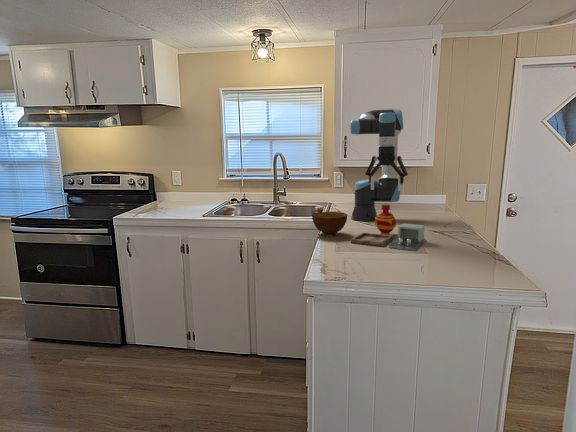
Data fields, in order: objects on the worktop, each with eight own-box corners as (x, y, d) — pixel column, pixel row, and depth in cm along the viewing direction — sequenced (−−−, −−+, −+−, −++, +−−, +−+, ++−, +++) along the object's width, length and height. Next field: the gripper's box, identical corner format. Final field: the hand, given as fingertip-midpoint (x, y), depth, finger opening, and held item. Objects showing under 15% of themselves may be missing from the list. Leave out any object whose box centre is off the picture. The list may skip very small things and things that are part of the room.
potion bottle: (396, 233, 204) (397, 203, 201) (394, 237, 194) (395, 206, 192) (375, 231, 207) (375, 203, 205) (372, 236, 198) (373, 206, 195)
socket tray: (350, 242, 187) (350, 239, 186) (363, 236, 199) (363, 232, 199) (382, 246, 179) (382, 242, 178) (393, 239, 191) (393, 235, 191)
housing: (398, 239, 186) (398, 226, 185) (402, 236, 192) (402, 223, 190) (419, 241, 181) (420, 228, 179) (423, 238, 186) (424, 225, 185)
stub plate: (388, 247, 177) (388, 239, 176) (402, 238, 193) (402, 230, 193) (414, 250, 171) (414, 242, 170) (425, 240, 188) (426, 233, 187)
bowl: (305, 235, 204) (304, 215, 202) (326, 229, 217) (326, 210, 215) (333, 240, 192) (333, 219, 191) (354, 233, 205) (354, 214, 203)
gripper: (359, 146, 196) (358, 189, 200) (410, 145, 183) (409, 192, 187) (364, 146, 202) (364, 188, 206) (415, 145, 189) (413, 190, 193)
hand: (385, 190), depth 197 cm, fingers open, 13 cm apart
